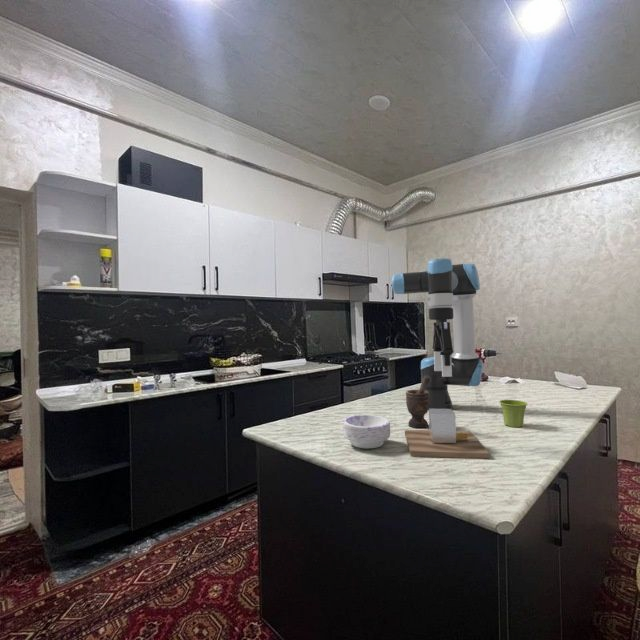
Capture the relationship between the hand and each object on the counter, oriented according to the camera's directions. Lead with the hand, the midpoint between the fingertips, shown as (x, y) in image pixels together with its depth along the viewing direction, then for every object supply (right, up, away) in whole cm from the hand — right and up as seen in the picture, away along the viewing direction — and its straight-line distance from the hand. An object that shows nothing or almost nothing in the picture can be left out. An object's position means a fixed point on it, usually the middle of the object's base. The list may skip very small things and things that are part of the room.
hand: (442, 373), depth 118 cm
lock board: (0, -23, 0) cm, 23 cm away
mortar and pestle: (-1, -23, +21) cm, 32 cm away
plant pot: (+33, -23, +20) cm, 45 cm away
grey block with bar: (+2, -21, 0) cm, 21 cm away
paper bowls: (-24, -24, +2) cm, 34 cm away
